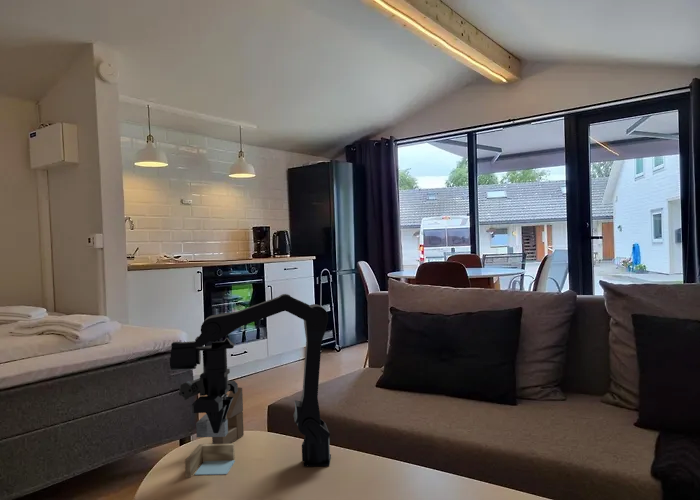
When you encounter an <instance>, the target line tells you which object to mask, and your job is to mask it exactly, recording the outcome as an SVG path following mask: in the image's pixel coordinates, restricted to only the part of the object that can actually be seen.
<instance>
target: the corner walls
mask: <svg viewBox="0 0 700 500" xmlns="http://www.w3.org/2000/svg"><path fill="white" fill-rule="evenodd" d="M235 458H236V457H235V443H234V442H232V443H231V444H212V443H205V444H204V443H199V444H198V445H197V446H196V447H195V448H194V450H193V451H191V453H190V454H189V456H188V457H187V458H186V459H185V460H184V464H185V465H184V467H185V468H184V469H185V478H191V477H193V476H194V474H195V473H196V471H197V470H198V469H199V467H200V466H201V465H202V464H203V462H204V461H227V460H235Z"/></svg>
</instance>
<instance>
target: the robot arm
mask: <svg viewBox="0 0 700 500" xmlns="http://www.w3.org/2000/svg"><path fill="white" fill-rule="evenodd" d="M282 312H287V313H289V314H291V315H293V316H295V317H297V318H299V319H301V320H303V326H304V327H303V329H304V334H305V354H304V366H303V380H302V393H301V397H300V399H299V400H296V399H295V400H294V407H295V409H294V413H293V418H294V419H293V420H294V423H295V424H296V425H297V429H298V432H300V433H301V435H303V436H304V437H303V441H302V443H301V461H302V462H303V467H327V466H328V467H329V466H330V464H331V459H332V454H331V449H330V447H331V446H330V436H331V435H330V434H331V433H330V431H329V429H328V426H327V423H326V422H325V421H324V420H323V419H322V418H321V410H320V404H319V397H318V395H319V381H320V368H321V356H322V355H321V353H322V343H323V340H324V337H325V333H326V332H327V331H326V330H327V325H328V322H329V313H328V311H327V310H326V309H325V308H324V307H323V306H322V305H319V304H316V303H315V304H309V303H306V302H304V301H302V300H299V299H297V298H295V297H293V296H291V295H290V294H288V293H283V294H280V295H279V296H276V297H274V298H271V299H268V300H265V301H262V302H260V303H257V304H254V305H251V306H248V307H246V308H243V309H240V310H237V311H231V312H224V313H219V314H213V315H212V314H211V315H209V316H208V317H206V318H205V319H204V321H203V322H202V324H201V325H200V334H199V336H196V337H195V339H194V341H173V342H172V343H171V345H170V347H171V348H170V349H171V350H170V357H169V366H170V371H173V372H175V371H183V370H184V371H187V370H196V369H197V366H198V365H201V362H202V366H203V367H202V370H203V371H202V372H201V374H200V375H199V378H197V379H195V380H191V381H189V380H187V381H186V382H182V383H181V384H180V387H179V388H178V391H179V392H178V395H179V396H181V397H182V398H183V400H184V401H186V400H189V398H191V397H194V396H196V395H199V397H198V398H196V399H195V401H193V403H192V404H191V412H192V414H207V416H208V418H209V421H210V424H211V427H212V430H213V433H218V432H219V429H220V426H221V422H222V419H225V418H226V415H227V413H228V410H229V407H230V405H231V402H232V400H233V397H228V395H229V393H228V392H230V391H232V392H233V394H236V392H237V391H238V387H239V385H238V384H239V383H237V382H236V381H235V380H229V379H228V377H229V376H228V375H229V374H230V370H231V369H230V368H228V353H227V349H229V350H231V349H234V347H235V343H234V342H232V341H231V340H230V339H229V337H226V336H229V335H230V334H231V333H233V332H235V331H236V330H238V329H239V328H241V327H244V326H247V325H250V324H252V323H254V322H258V321H260V320H263V319H266V318H268V317H271V316H274V315H277V314H279V313H282ZM225 337H226V338H225ZM222 338H225V339H224V340H223V341H220V340H221V339H222ZM210 342H211V344H210V345H207V344H208V343H210ZM201 352H202V354H201ZM201 355H202V356H201ZM201 359H202V361H201Z"/></svg>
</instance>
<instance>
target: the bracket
mask: <svg viewBox="0 0 700 500" xmlns="http://www.w3.org/2000/svg"><path fill="white" fill-rule="evenodd" d="M195 427H196V428H195V431H196V432H195V433H196V438H212V437H225V436H226V435H227V434H228V419H222V422H221V426H220V429H219V432H218V433H213V430H212V427H211V424H210V421H209V418H208V416H207V414H206V413H204V415H202V417H201V418H200V419H198V421H196V422H195Z"/></svg>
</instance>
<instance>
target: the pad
mask: <svg viewBox="0 0 700 500" xmlns="http://www.w3.org/2000/svg"><path fill="white" fill-rule="evenodd" d="M235 462H236V460H235V459H234V460H227V461H203V462H202V463H201V464H200V466H199V467H198V468H197V470H196V471H195V472H194V474H193V476H206V475H207V476H210V475H211V476H212V475H214V476H215V475H216V476H218V475H228V473H229V472H230V470H231V469H232V467H233V466H234V464H235Z"/></svg>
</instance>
